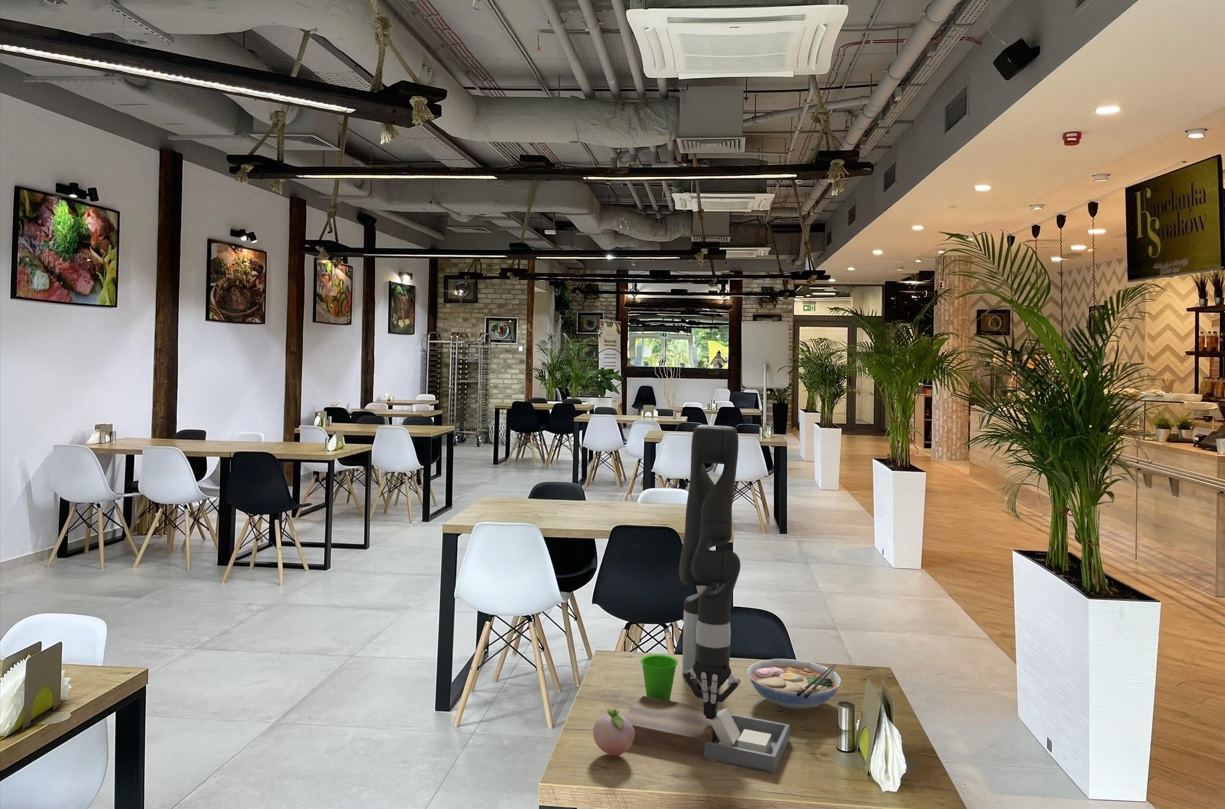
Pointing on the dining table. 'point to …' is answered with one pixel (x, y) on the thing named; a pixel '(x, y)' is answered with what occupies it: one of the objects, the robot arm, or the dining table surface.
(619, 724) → the decorative fruit
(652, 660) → the cup
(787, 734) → the box
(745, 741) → the tile
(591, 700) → the dining table surface
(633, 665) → the dining table surface
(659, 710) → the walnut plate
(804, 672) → the ramen bowl
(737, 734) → the tile
